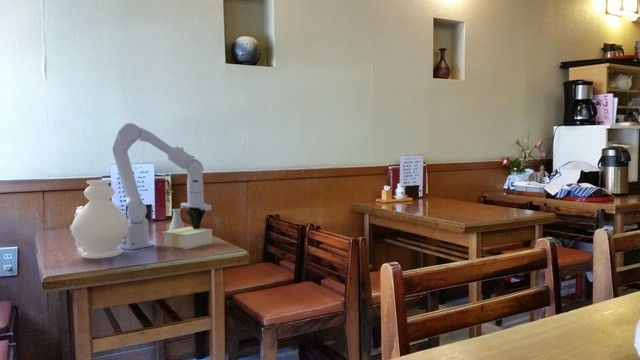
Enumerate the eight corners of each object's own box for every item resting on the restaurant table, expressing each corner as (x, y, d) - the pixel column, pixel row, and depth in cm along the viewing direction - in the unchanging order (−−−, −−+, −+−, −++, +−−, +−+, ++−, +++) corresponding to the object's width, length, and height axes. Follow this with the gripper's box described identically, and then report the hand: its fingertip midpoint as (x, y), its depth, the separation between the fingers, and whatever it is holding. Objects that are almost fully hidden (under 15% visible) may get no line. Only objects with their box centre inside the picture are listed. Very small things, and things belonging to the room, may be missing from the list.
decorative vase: (113, 247, 188) (110, 177, 186) (140, 253, 177) (137, 179, 175) (63, 255, 174) (59, 181, 172) (89, 263, 163) (85, 183, 161)
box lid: (185, 236, 181) (185, 234, 181) (162, 233, 189) (162, 231, 188) (212, 231, 192) (212, 229, 192) (189, 228, 199) (189, 226, 199)
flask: (175, 235, 210) (174, 210, 209) (164, 233, 214) (163, 209, 214) (190, 232, 216) (189, 208, 215) (179, 231, 220) (178, 207, 219)
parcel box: (186, 249, 182) (186, 236, 182) (164, 245, 189) (163, 233, 189) (212, 243, 192) (211, 231, 192) (190, 240, 199) (189, 228, 199)
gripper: (217, 192, 192) (218, 228, 193) (190, 190, 200) (191, 225, 201) (202, 193, 186) (203, 231, 187) (175, 191, 194) (177, 228, 195)
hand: (196, 228), depth 193 cm, fingers closed, pressing on box lid
